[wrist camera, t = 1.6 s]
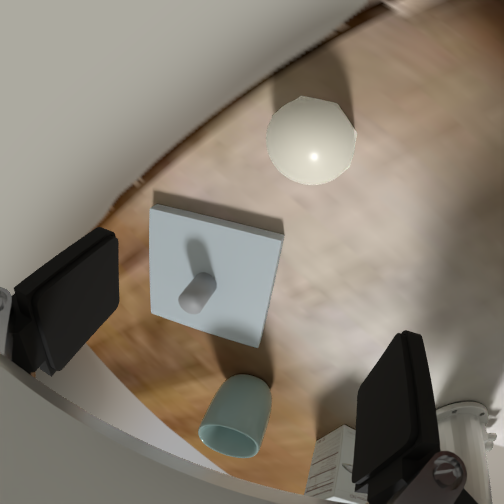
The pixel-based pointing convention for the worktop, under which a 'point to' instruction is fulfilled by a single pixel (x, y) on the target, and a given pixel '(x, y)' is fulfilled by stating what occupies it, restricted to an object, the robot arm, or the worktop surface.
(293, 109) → the cap
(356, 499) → the supplement box
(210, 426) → the cup
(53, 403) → the robot arm
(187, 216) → the stud plate
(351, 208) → the worktop surface
